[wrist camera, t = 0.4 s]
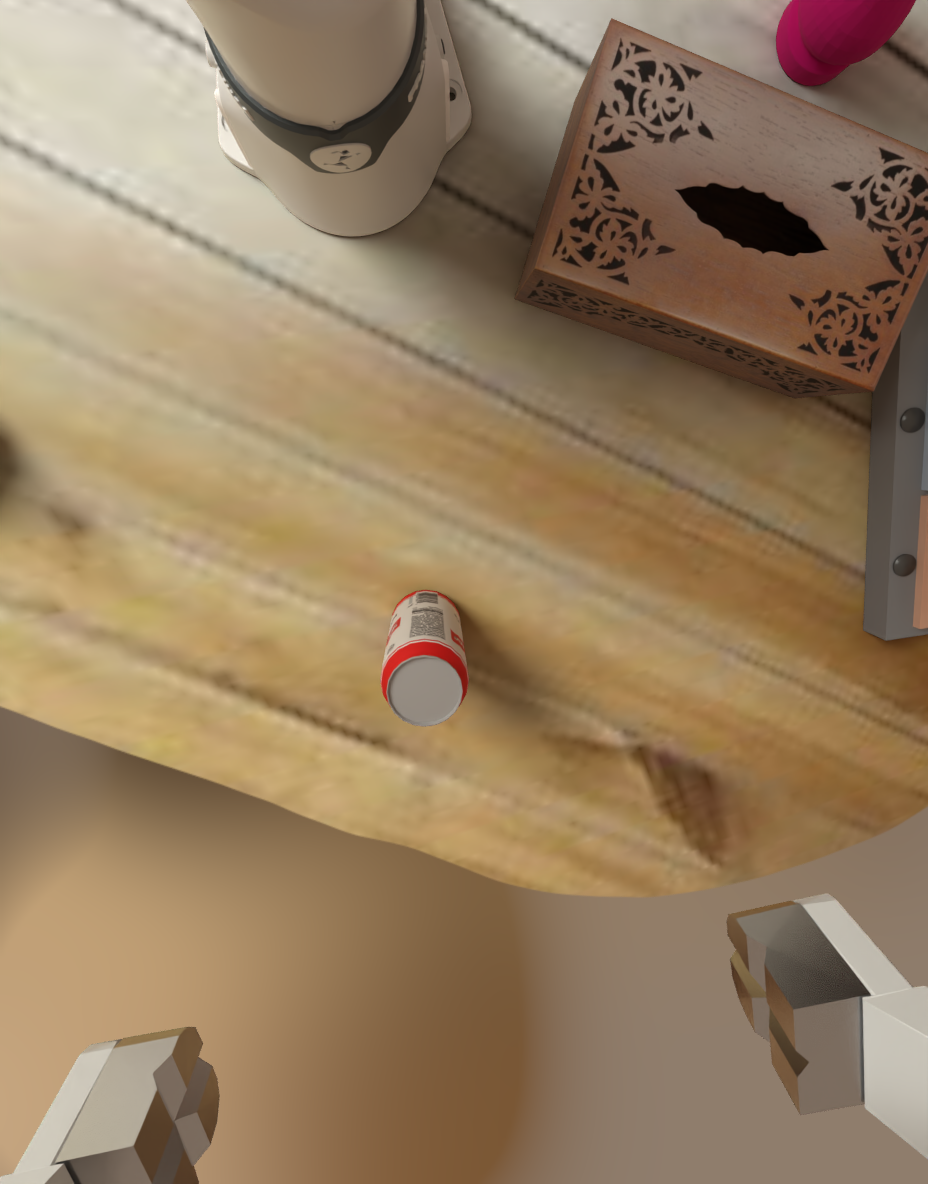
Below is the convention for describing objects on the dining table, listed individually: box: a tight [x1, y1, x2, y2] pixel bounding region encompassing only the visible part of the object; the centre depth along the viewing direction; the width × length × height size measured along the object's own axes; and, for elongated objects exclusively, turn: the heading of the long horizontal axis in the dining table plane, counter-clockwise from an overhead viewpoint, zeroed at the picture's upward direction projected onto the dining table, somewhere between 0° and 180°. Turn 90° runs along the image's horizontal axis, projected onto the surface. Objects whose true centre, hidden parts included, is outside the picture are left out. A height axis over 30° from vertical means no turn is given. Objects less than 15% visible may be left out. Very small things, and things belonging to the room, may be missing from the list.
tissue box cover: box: [515, 19, 928, 398], centre depth 45 cm, size 26×14×10 cm, turn 73°
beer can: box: [380, 590, 469, 727], centre depth 49 cm, size 6×6×16 cm
